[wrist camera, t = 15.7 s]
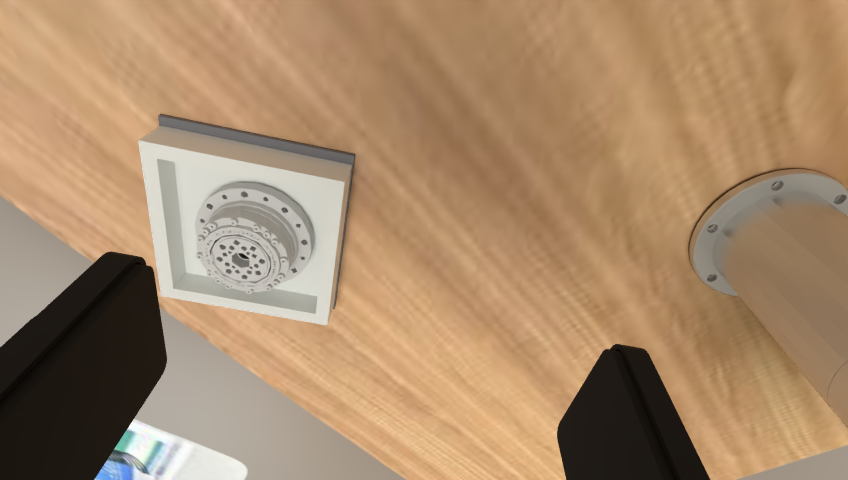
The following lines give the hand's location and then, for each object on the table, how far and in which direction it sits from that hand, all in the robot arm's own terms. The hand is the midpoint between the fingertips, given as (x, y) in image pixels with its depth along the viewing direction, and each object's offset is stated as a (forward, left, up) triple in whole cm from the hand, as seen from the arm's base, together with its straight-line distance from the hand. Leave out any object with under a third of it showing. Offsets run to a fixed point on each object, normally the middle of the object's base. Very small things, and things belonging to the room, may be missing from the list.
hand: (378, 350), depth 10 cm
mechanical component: (+12, +17, -27) cm, 34 cm away
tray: (+12, +17, -28) cm, 35 cm away
